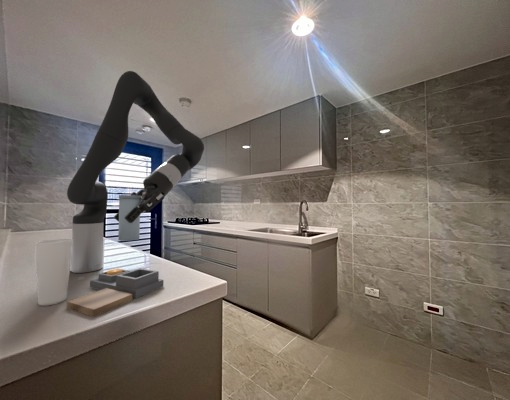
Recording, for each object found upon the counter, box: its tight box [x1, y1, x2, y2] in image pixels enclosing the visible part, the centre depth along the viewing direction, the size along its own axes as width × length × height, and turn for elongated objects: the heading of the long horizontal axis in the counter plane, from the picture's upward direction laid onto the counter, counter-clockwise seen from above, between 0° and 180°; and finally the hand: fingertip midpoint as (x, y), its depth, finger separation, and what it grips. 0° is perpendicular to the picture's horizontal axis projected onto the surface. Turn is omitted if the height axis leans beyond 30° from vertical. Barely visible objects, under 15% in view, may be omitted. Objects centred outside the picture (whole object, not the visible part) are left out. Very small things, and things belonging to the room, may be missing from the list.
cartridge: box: [117, 194, 141, 242], centre depth 60 cm, size 5×5×12 cm
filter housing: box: [89, 267, 164, 299], centre depth 64 cm, size 19×9×4 cm, turn 67°
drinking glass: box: [34, 238, 72, 307], centre depth 54 cm, size 7×7×15 cm
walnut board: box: [66, 288, 133, 318], centre depth 53 cm, size 10×9×2 cm
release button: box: [106, 268, 122, 275], centre depth 66 cm, size 4×4×2 cm
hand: (122, 220), depth 58 cm, fingers closed on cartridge, 5 cm apart
